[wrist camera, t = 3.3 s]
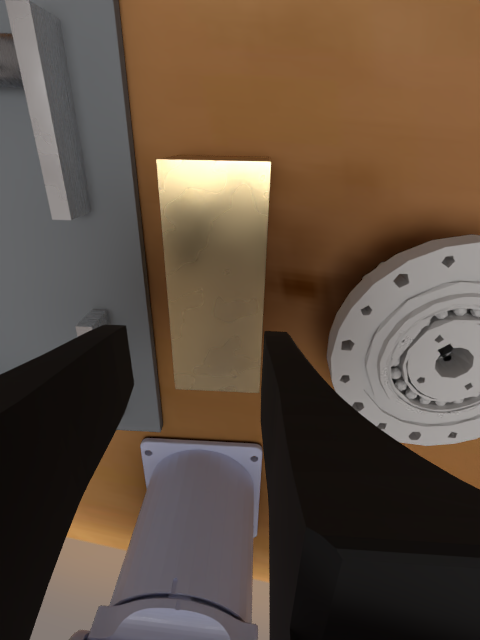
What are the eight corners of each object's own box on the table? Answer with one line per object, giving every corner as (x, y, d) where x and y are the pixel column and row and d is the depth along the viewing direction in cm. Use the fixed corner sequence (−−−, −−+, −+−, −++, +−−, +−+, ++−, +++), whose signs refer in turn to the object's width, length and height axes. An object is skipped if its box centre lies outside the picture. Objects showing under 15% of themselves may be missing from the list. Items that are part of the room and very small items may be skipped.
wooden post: (259, 348, 20) (259, 392, 17) (190, 345, 21) (175, 388, 17) (268, 156, 16) (270, 161, 12) (179, 154, 16) (156, 159, 12)
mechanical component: (622, 385, 15) (399, 479, 18) (546, 334, 19) (374, 418, 22) (539, 183, 12) (285, 341, 15) (469, 172, 15) (280, 298, 19)
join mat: (162, 425, 23) (160, 432, 22) (-32, 415, 24) (-39, 421, 23) (115, -28, 13) (109, -35, 13) (-220, -29, 14) (-240, -36, 13)
